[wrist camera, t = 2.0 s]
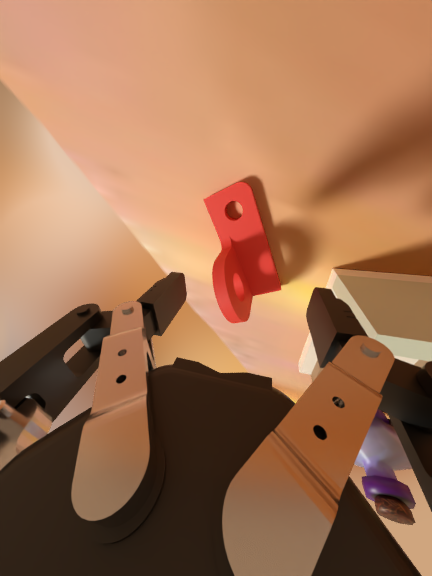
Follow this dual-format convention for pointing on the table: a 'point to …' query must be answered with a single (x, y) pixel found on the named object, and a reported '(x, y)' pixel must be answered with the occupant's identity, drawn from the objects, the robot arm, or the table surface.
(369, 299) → the cleat board
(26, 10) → the table surface
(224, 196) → the bracket
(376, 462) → the potion bottle
